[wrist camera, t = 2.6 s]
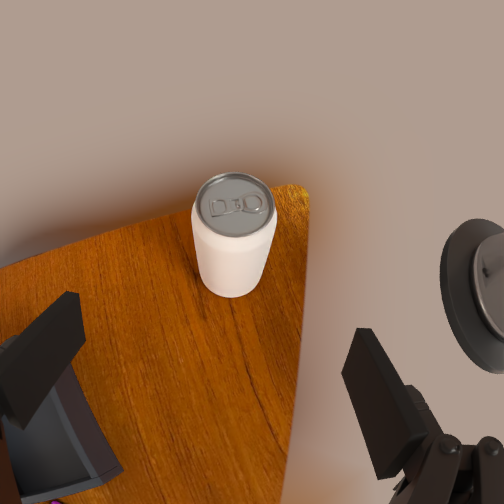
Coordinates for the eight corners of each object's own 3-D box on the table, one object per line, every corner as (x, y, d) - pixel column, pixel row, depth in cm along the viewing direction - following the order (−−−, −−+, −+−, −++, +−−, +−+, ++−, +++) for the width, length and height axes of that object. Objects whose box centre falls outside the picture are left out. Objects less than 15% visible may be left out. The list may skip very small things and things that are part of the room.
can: (268, 293, 32) (292, 234, 21) (204, 304, 31) (195, 249, 20) (254, 237, 34) (268, 163, 24) (195, 246, 33) (184, 173, 23)
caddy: (124, 470, 22) (103, 484, 17) (27, 499, 18) (-1, 509, 13) (62, 341, 27) (34, 328, 22) (-21, 384, 23) (-52, 377, 18)
